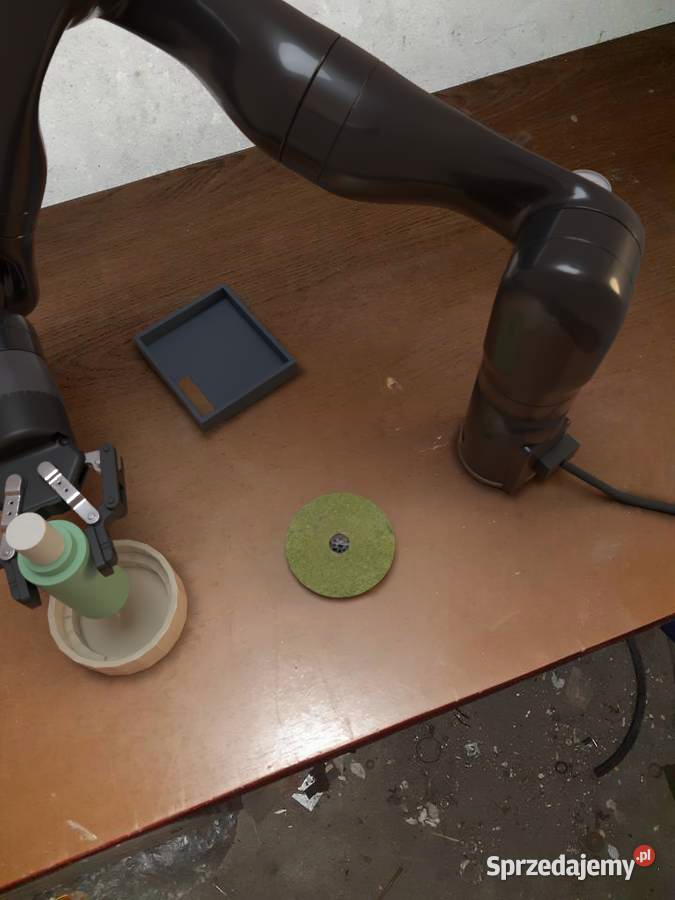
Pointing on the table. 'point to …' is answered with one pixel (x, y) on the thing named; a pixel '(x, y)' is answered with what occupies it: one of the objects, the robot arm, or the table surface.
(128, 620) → the bowl
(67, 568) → the bottle
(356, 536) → the mat
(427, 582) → the table surface
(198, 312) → the tray
